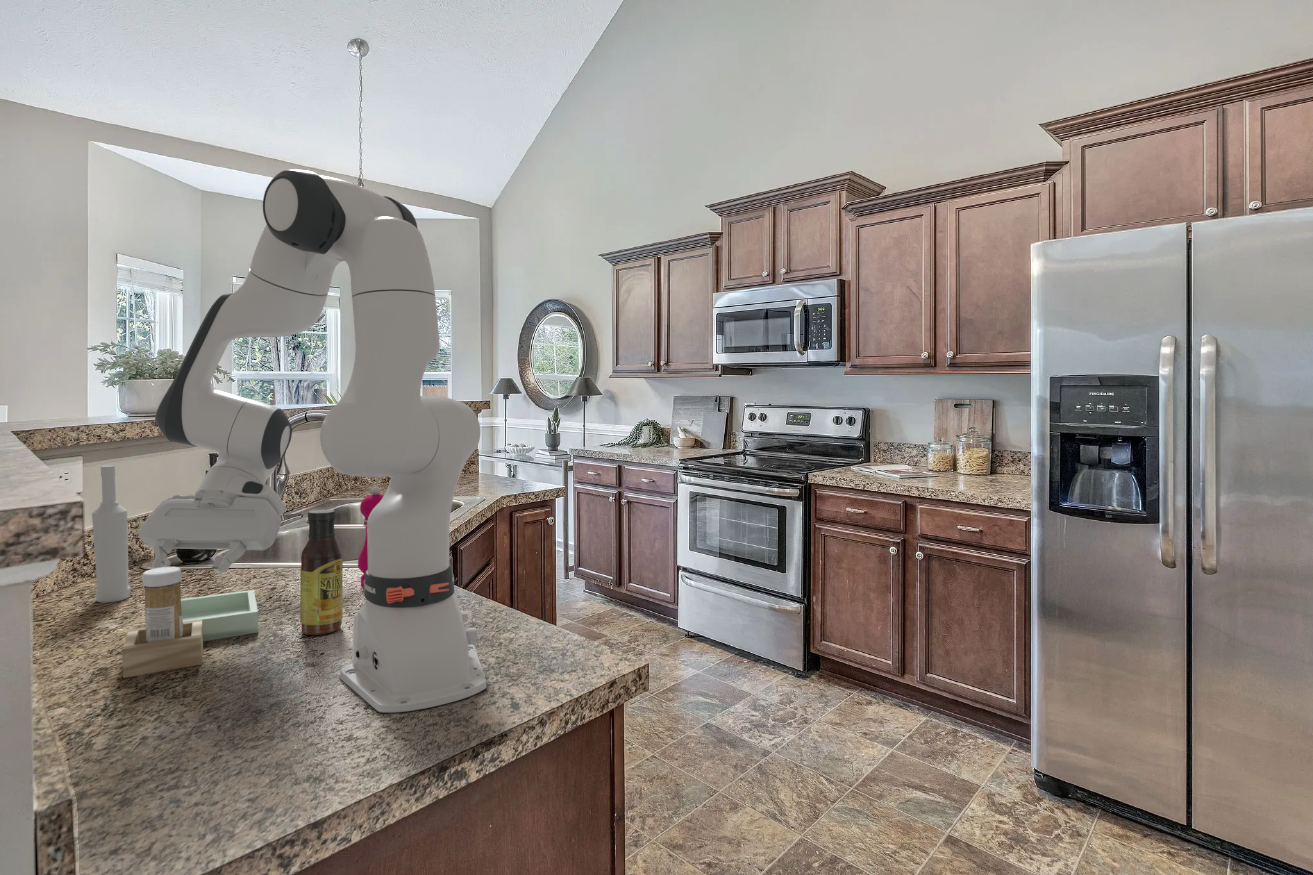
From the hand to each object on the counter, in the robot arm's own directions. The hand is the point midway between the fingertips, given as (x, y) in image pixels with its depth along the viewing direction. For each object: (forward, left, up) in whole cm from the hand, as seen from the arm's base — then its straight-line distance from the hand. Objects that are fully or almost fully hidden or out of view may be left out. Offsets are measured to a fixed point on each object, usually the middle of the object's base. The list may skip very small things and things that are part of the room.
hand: (188, 570), depth 104 cm
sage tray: (+9, -2, -12) cm, 15 cm away
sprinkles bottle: (-4, +3, -12) cm, 13 cm away
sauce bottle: (-2, -18, -12) cm, 22 cm away
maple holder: (-4, +3, -12) cm, 13 cm away
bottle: (+36, +13, -12) cm, 40 cm away
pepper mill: (+22, -31, -12) cm, 40 cm away
